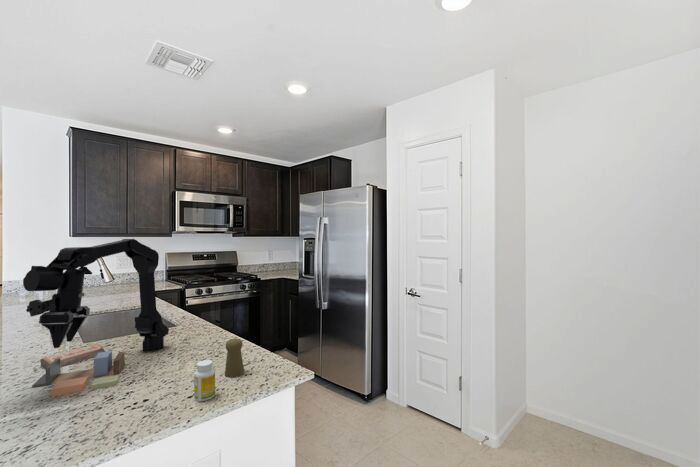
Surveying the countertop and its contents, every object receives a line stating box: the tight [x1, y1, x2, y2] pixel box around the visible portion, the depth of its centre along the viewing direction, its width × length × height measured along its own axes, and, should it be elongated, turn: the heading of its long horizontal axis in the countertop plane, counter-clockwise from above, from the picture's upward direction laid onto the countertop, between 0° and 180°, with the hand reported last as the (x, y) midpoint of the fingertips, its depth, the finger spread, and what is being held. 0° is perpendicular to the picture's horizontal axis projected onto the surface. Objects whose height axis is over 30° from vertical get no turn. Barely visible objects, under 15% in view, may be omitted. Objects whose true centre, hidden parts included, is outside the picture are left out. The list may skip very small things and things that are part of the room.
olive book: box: [91, 374, 120, 391], centre depth 96 cm, size 6×4×3 cm
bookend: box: [31, 358, 62, 388], centre depth 99 cm, size 4×8×5 cm, turn 25°
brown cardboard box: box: [50, 376, 89, 398], centre depth 93 cm, size 7×6×4 cm
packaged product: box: [32, 343, 106, 372], centre depth 114 cm, size 18×5×10 cm
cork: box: [224, 338, 245, 378], centre depth 105 cm, size 6×6×11 cm
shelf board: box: [30, 351, 125, 389], centre depth 103 cm, size 22×8×6 cm, turn 115°
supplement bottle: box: [193, 359, 216, 402], centre depth 91 cm, size 5×5×10 cm
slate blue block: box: [93, 350, 113, 376], centre depth 105 cm, size 4×6×6 cm, turn 25°
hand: (63, 344), depth 94 cm, fingers open, 9 cm apart
